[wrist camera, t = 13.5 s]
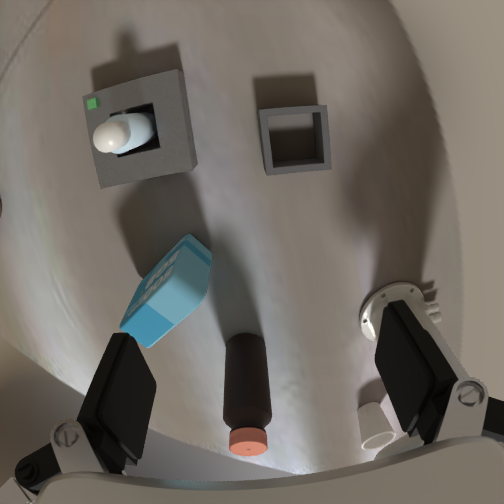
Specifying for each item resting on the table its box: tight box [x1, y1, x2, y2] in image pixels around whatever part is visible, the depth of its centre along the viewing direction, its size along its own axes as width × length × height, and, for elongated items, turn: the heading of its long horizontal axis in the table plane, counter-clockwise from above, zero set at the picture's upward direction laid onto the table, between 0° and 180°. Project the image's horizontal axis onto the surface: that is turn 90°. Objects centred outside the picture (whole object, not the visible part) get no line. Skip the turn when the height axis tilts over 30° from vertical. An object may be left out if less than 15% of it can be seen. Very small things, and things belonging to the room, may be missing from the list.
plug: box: [93, 112, 158, 154], centre depth 29 cm, size 4×4×12 cm
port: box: [83, 69, 198, 189], centre depth 32 cm, size 12×12×5 cm
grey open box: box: [257, 105, 331, 176], centre depth 34 cm, size 8×8×4 cm
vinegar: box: [223, 333, 272, 456], centre depth 42 cm, size 7×7×20 cm
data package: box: [120, 233, 213, 348], centre depth 38 cm, size 12×4×12 cm, turn 134°
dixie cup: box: [358, 402, 396, 450], centre depth 58 cm, size 8×8×10 cm
